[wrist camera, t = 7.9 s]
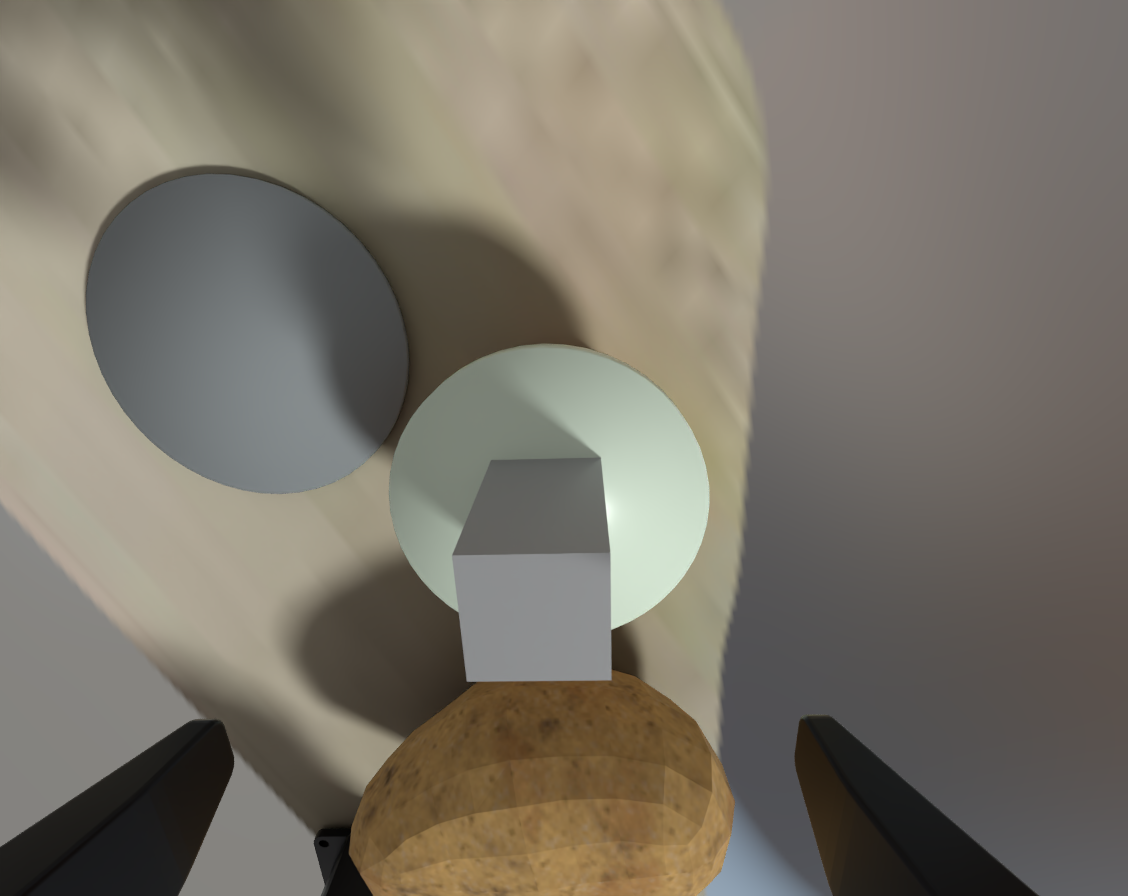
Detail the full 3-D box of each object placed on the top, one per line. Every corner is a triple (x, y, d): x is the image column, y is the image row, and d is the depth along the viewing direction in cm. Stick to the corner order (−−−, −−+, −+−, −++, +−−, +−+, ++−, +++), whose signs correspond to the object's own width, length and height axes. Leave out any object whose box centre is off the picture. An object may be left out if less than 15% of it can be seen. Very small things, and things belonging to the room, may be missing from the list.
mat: (426, 486, 21) (424, 490, 21) (148, 493, 22) (140, 497, 21) (385, 167, 18) (380, 165, 17) (49, 182, 18) (38, 181, 18)
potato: (360, 647, 24) (262, 828, 17) (684, 590, 23) (736, 759, 15) (429, 806, 27) (371, 1019, 20) (716, 765, 26) (772, 977, 18)
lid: (696, 621, 18) (747, 786, 12) (417, 625, 18) (348, 788, 13) (711, 338, 15) (789, 392, 9) (376, 348, 15) (262, 407, 10)
